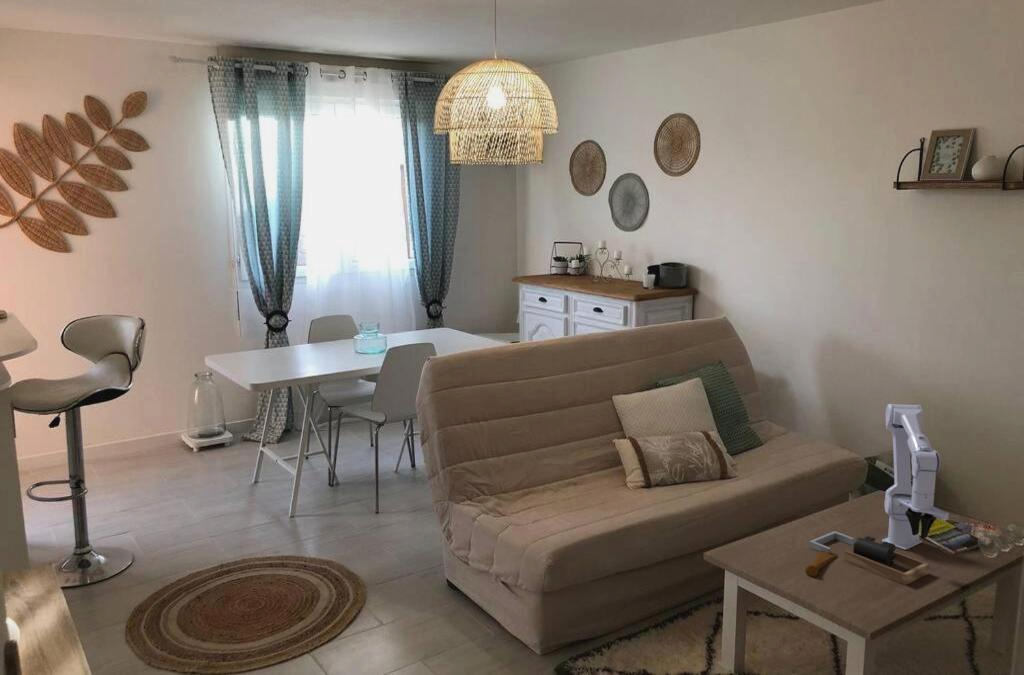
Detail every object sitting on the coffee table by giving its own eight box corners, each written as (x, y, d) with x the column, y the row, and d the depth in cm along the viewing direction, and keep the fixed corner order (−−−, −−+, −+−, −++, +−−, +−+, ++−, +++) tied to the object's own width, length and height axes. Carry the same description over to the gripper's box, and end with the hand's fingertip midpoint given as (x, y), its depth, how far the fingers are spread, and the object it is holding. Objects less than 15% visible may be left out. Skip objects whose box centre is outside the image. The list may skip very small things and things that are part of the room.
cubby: (867, 550, 257) (868, 541, 257) (928, 573, 242) (929, 563, 241) (844, 560, 251) (844, 551, 250) (905, 585, 235) (906, 575, 234)
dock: (834, 536, 267) (834, 531, 267) (853, 544, 262) (854, 538, 261) (809, 547, 260) (809, 541, 260) (828, 555, 255) (828, 549, 254)
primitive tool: (820, 551, 258) (820, 541, 257) (838, 556, 255) (839, 545, 254) (804, 576, 242) (804, 565, 241) (823, 581, 239) (824, 569, 238)
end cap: (852, 561, 250) (853, 540, 249) (862, 553, 255) (864, 533, 254) (885, 572, 243) (887, 550, 242) (895, 564, 248) (897, 543, 247)
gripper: (891, 487, 244) (888, 531, 246) (940, 502, 232) (936, 547, 234) (905, 482, 248) (902, 525, 250) (953, 496, 236) (950, 541, 238)
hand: (919, 535), depth 243 cm, fingers closed
